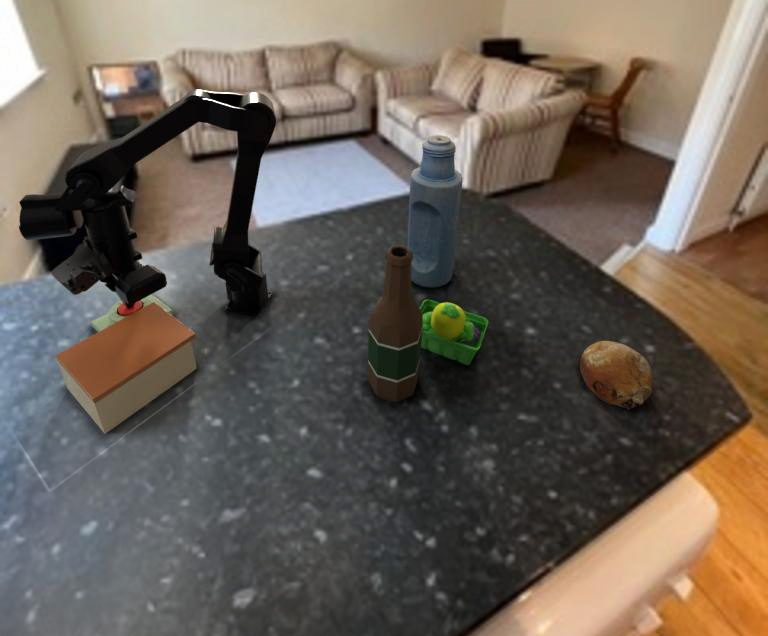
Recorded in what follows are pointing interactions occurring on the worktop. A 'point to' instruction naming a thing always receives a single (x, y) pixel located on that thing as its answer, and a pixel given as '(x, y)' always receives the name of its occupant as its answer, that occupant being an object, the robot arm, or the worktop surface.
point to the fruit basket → (451, 331)
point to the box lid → (124, 350)
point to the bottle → (434, 213)
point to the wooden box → (135, 389)
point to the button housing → (115, 317)
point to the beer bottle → (395, 332)
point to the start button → (126, 312)
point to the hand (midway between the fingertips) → (130, 306)
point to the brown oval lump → (616, 374)
